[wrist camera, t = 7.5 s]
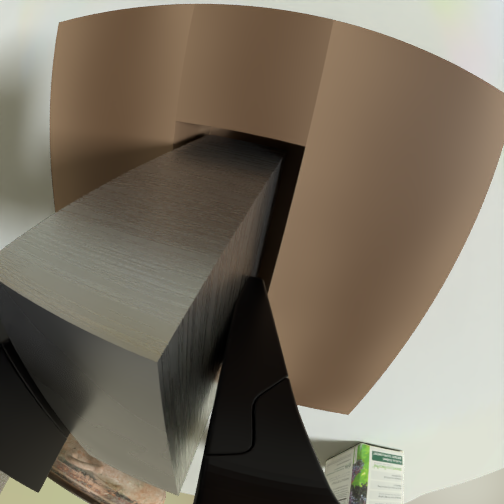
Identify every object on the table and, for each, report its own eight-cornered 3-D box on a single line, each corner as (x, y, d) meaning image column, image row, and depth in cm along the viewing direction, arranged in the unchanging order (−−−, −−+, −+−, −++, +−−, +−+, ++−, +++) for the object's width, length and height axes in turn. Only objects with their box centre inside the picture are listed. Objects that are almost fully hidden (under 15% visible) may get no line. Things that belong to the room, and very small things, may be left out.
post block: (118, 284, 17) (80, 326, 14) (123, 29, 10) (58, 22, 6) (349, 354, 16) (348, 414, 12) (459, 93, 8) (514, 100, 5)
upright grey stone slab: (193, 282, 12) (88, 454, 6) (209, 134, 9) (-21, 266, 2) (252, 300, 12) (178, 495, 5) (286, 150, 9) (156, 362, 2)
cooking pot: (45, 369, 29) (-3, 436, 19) (179, 438, 28) (139, 529, 17) (88, 438, 43) (62, 484, 32) (179, 481, 41) (157, 534, 31)
